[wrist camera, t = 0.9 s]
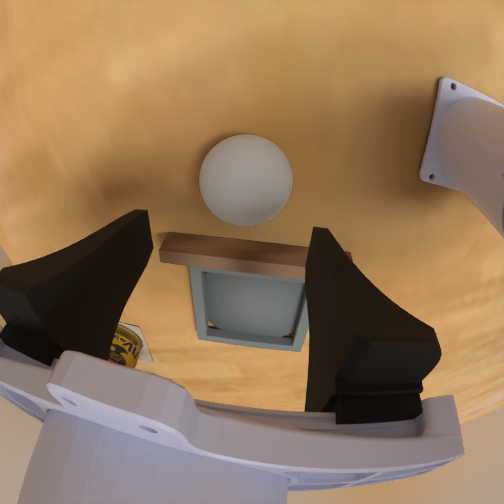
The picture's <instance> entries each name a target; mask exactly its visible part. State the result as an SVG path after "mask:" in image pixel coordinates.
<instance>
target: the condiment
mask: <svg viewBox="0 0 504 504" xmlns="http://www.w3.org/2000/svg"><path fill="white" fill-rule="evenodd" d="M138 359H141V360H146V361H149V362H154V361H153V359H152V356H151V354H150V352H149V349H148V347H147V344H146V342H145V339H144V337H143V334H142V332H141V329H140V328H139V327H137V326H132V325H128V324H124V323H120V322H119V323H118V326H117V329H116V332H115V335H114V338H113V342H112V345H111V349H110V353H109V357H108V361H109V362H112V363H116V364H119V365H123V366H126V367H130V368H135V366H136V364H137V360H138Z"/></svg>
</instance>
